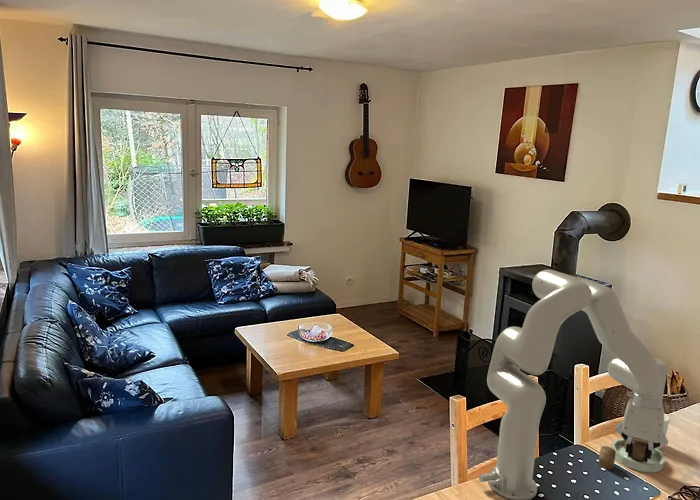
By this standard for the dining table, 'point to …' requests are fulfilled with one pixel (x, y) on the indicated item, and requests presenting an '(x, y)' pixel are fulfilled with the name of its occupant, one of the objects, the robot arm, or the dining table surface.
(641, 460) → the bead
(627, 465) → the tray
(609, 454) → the bead
